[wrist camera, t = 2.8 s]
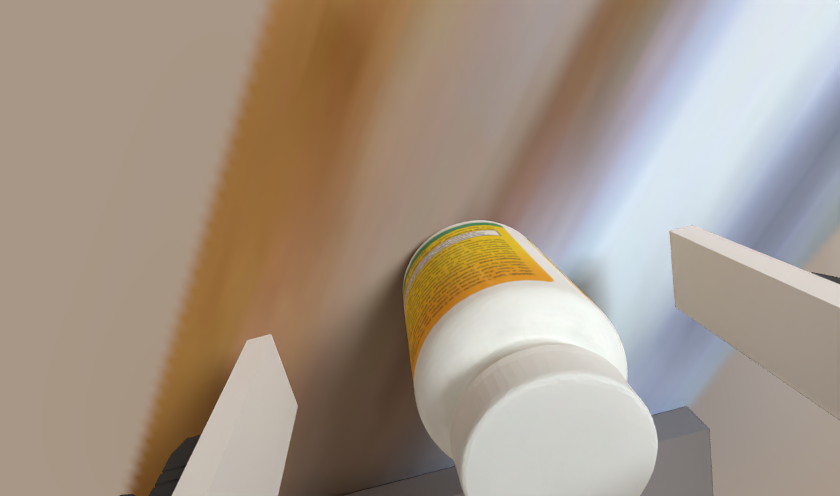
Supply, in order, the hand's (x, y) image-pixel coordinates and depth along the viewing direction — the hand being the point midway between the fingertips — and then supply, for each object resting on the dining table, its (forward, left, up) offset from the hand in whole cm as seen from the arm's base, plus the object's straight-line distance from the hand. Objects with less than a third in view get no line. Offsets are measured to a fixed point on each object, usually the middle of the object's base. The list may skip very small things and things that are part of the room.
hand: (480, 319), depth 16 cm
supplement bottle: (0, 0, -3) cm, 3 cm away
